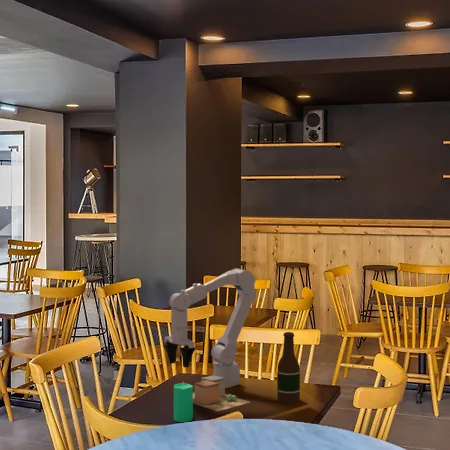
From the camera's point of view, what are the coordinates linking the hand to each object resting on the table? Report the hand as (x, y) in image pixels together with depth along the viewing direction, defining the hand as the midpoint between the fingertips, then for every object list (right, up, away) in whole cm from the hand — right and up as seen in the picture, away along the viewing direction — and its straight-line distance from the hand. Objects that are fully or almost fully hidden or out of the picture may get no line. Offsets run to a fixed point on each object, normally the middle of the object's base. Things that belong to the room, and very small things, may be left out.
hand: (179, 365), depth 245 cm
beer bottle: (+38, -11, -12) cm, 41 cm away
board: (+12, -10, -12) cm, 20 cm away
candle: (+3, -11, -29) cm, 32 cm away
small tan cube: (+10, -9, -14) cm, 20 cm away
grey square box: (+12, -9, -6) cm, 16 cm away
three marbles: (+18, -9, -13) cm, 24 cm away
